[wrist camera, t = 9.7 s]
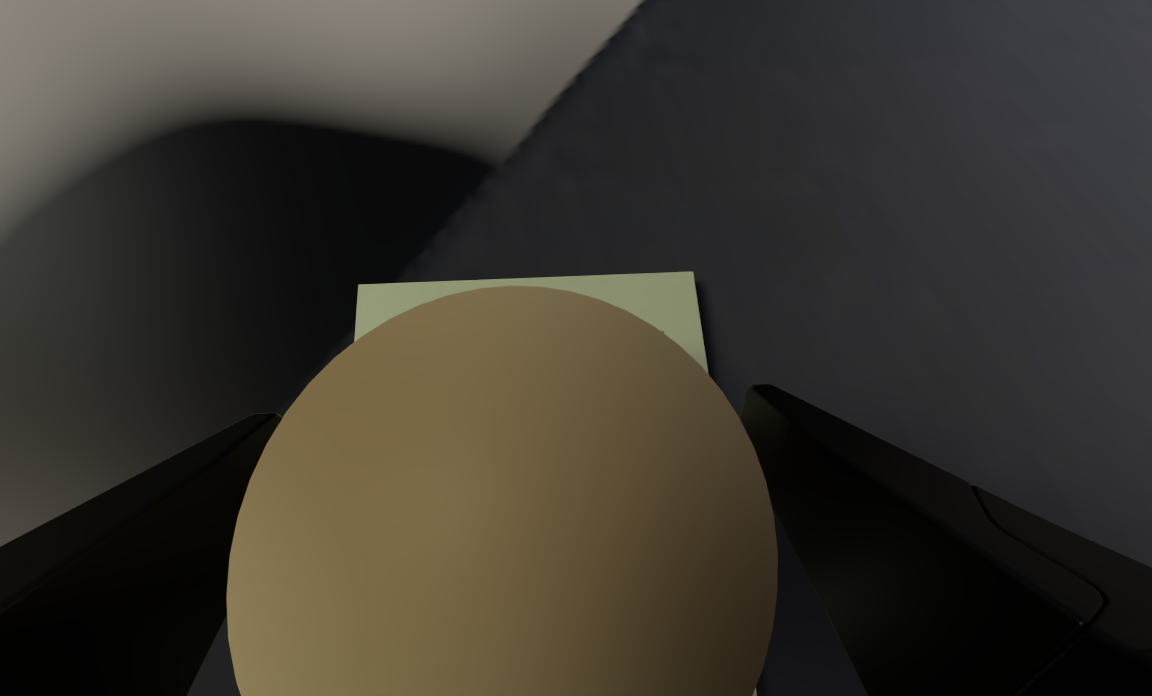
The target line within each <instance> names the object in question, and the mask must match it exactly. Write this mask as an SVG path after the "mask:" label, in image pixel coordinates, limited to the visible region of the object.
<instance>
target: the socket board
mask: <svg viewBox="0 0 1152 696" xmlns="http://www.w3.org/2000/svg"><path fill="white" fill-rule="evenodd" d="M501 286H535V287H546V288H553V289H559V290H566V291H572V292H575V293H579V294H582V295H586V296H589V297H593V298H596V299H600V300H602V301H605V302H607V303H609V304H612V305H614V306H617V307H619V308H621V309H624V310H626V311H628V312H630V313H632V314H633V315H635V316H637V317H639V318H640V319H642V320H644V321H646V322H647V323H649V324H651V325H653V326H654V327H656V328H657V329H658V330H660V331H661V332H662V333H664V334H665V335H666V336H668V337H669V338H671V339H672V340H673V341H675V342H676V343H677V344H679V345H680V346H681V347H682V348H683V349H684V350H685V351H686V352H687V353H688V354H689V355H690V356H691V357H692V358H693V359H694V360H695V361H696V362H698V363H699V364H700V365H701V366H702V367H703V369H704V370H705V371H706V372H707V374H708V368H707V361H706V355H705V348H704V341H703V335H702V328H701V322H700V315H699V308H698V302H697V295H696V288H695V282H694V275H693V272H671V273H646V274H620V275H594V276H569V277H543V278H517V279H492V280H466V281H440V282H414V283H389V284H363V285H359V286H358V299H357V313H356V327H355V341H356V340H358V339H359V338H360V337H361V336H363V335H365V334H366V333H368V332H369V331H371V330H373V329H374V328H376V327H378V326H379V325H381V324H382V323H384V322H386V321H387V320H389V319H391V318H393V317H395V316H397V315H399V314H401V313H403V312H405V311H407V310H410V309H412V308H414V307H416V306H418V305H421V304H423V303H426V302H429V301H432V300H435V299H438V298H441V297H444V296H447V295H451V294H455V293H460V292H465V291H470V290H475V289H479V288H490V287H501ZM753 696H757V693H756V688H755V690H754V693H753Z"/></svg>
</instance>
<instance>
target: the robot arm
mask: <svg viewBox="0 0 1152 696" xmlns="http://www.w3.org/2000/svg"><path fill="white" fill-rule="evenodd" d="M281 420H282V417H281V416H280V415H279V414H277V413H262V414H253V415H250V416H248V417H247V418H244V419H242V420H240V421H239V422H237V423H235V424H233V425H231V426H229V427H227V428H225V429H223V430H222V431H220V432H218V433H216V434H214V435H212V436H210V437H208V438H206V439H204V440H202V441H201V442H199V443H197V444H195V445H193V446H191V447H189V448H187V449H185V450H183V451H182V452H180V453H178V454H176V455H174V456H172V457H170V458H168V459H167V460H165V461H162V462H161V463H159V464H157V465H155V466H153V467H151V468H149V469H147V470H145V471H143V472H142V473H140V474H138V475H136V476H134V477H132V478H130V479H128V480H126V481H125V482H123V483H121V484H119V485H117V486H115V487H113V488H111V489H109V490H107V491H106V492H103V493H102V494H100V495H98V496H96V497H94V498H92V499H90V500H88V501H86V502H84V503H83V504H81V505H79V506H77V507H75V508H73V509H71V510H69V511H67V512H65V513H63V514H62V515H60V516H58V517H56V518H54V519H52V520H50V521H48V522H46V523H44V524H43V525H41V526H39V527H37V528H35V529H33V530H31V531H29V532H27V533H25V534H23V535H22V536H20V537H18V538H16V539H14V540H12V541H10V542H8V543H6V544H4V545H3V546H1V547H0V696H188V694H189V692H190V690H191V688H192V686H193V684H194V682H195V680H196V678H197V675H198V673H199V671H200V669H201V667H202V665H203V663H204V661H205V659H206V657H207V655H208V653H209V651H210V649H211V647H212V645H213V643H214V641H215V639H216V637H217V635H218V633H219V631H220V629H221V627H222V625H223V623H224V621H225V619H226V617H227V599H226V597H227V584H228V571H229V558H230V552H231V547H232V542H233V537H234V532H235V527H236V523H237V518H238V514H239V511H240V508H241V505H242V502H243V499H244V496H245V493H246V490H247V487H248V484H249V481H250V478H251V476H252V474H253V472H254V470H255V468H256V466H257V463H258V461H259V459H260V457H261V455H262V453H263V451H264V449H265V446H266V444H267V443H268V441H269V439H270V438H271V436H272V435H273V433H274V431H275V430H276V428H277V426H278V425H279V423H280V422H281ZM740 420H741V422H742V424H743V426H744V428H745V430H746V432H747V434H748V437H749V439H750V441H751V443H752V445H753V447H754V449H755V452H756V454H757V457H758V460H759V463H760V466H761V469H762V471H763V474H764V477H765V480H766V484H767V488H768V492H769V497H770V501H771V506H772V508H773V510H774V512H775V514H776V516H777V518H778V520H779V522H780V523H781V525H782V527H783V529H784V531H785V533H786V535H787V537H788V539H789V541H790V543H791V545H792V547H793V549H794V551H795V553H796V555H797V557H798V559H799V561H800V563H801V565H802V567H803V569H804V571H805V573H806V575H807V577H808V579H809V581H810V582H811V584H812V586H813V588H814V590H815V592H816V594H817V596H818V598H819V600H820V602H821V604H822V606H823V608H824V610H825V612H826V614H827V616H828V618H829V620H830V622H831V624H832V626H833V628H834V630H835V632H836V634H837V636H838V638H839V640H840V641H841V643H842V645H843V647H844V649H845V651H846V653H847V655H848V657H849V659H850V661H851V663H852V665H853V667H854V669H855V671H856V673H857V675H858V677H859V679H860V681H861V683H862V685H863V687H864V689H865V691H866V693H867V695H868V696H1152V568H1151V567H1149V566H1146V565H1144V564H1142V563H1140V562H1138V561H1135V560H1133V559H1131V558H1129V557H1126V556H1124V555H1122V554H1120V553H1117V552H1115V551H1113V550H1111V549H1108V548H1106V547H1104V546H1102V545H1099V544H1097V543H1095V542H1093V541H1091V540H1088V539H1086V538H1084V537H1082V536H1080V535H1077V534H1075V533H1073V532H1071V531H1069V530H1066V529H1064V528H1062V527H1060V526H1058V525H1055V524H1053V523H1051V522H1049V521H1047V520H1045V519H1042V518H1040V517H1038V516H1036V515H1034V514H1032V513H1030V512H1028V511H1026V510H1024V509H1022V508H1020V507H1018V506H1015V505H1013V504H1011V503H1009V502H1007V501H1005V500H1003V499H1001V498H999V497H997V496H995V495H993V494H991V493H989V492H987V491H985V490H983V489H981V488H979V487H977V486H974V485H973V486H970V484H969V483H968V482H967V481H965V480H963V479H961V478H958V477H956V476H954V475H952V474H950V473H948V472H946V471H944V470H942V469H940V468H938V467H936V466H934V465H932V464H930V463H928V462H926V461H924V460H922V459H920V458H918V457H916V456H914V455H912V454H910V453H908V452H906V451H904V450H902V449H900V448H898V447H896V446H894V445H892V444H890V443H888V442H886V441H884V440H882V439H880V438H878V437H876V436H874V435H872V434H870V433H868V432H866V431H864V430H862V429H860V428H858V427H856V426H853V425H851V424H849V423H847V422H845V421H843V420H841V419H839V418H837V417H835V416H833V415H831V414H829V413H827V412H825V411H823V410H821V409H819V408H817V407H815V406H813V405H811V404H809V403H807V402H805V401H803V400H801V399H799V398H797V397H795V396H793V395H791V394H789V393H787V392H785V391H783V390H781V389H779V388H777V387H775V386H773V385H769V384H764V385H751V386H750V387H749V388H748V389H747V391H746V395H745V399H744V403H743V407H742V411H741V416H740Z"/></svg>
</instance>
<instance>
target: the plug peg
mask: <svg viewBox="0 0 1152 696" xmlns="http://www.w3.org/2000/svg"><path fill="white" fill-rule="evenodd" d="M777 591H778V549H777V540H776V531H775V522H774V514H773V510H772V506H771V501H770V497H769V492H768V488H767V484H766V480H765V477H764V474H763V471H762V469H761V466H760V463H759V460H758V457H757V454H756V452H755V449H754V447H753V445H752V443H751V441H750V439H749V437H748V434H747V432H746V430H745V428H744V426H743V424H742V422H741V420H740V418H739V417H738V415H737V414H736V412H735V410H734V409H733V407H732V406H731V404H730V403H729V401H728V400H727V398H726V397H725V395H724V393H723V392H722V390H721V389H720V388H719V387H718V386H717V384H716V383H715V382H714V381H713V380H712V378H711V377H710V376H709V375H708V374H707V372H706V371H705V370H704V369H703V367H702V366H701V365H700V364H699V363H698V362H696V361H695V360H694V359H693V358H692V357H691V356H690V355H689V354H688V353H687V352H686V351H685V350H684V349H683V348H682V347H681V346H680V345H679V344H677V343H676V342H675V341H673V340H672V339H671V338H669V337H668V336H666V335H665V334H664V333H662V332H661V331H660V330H658V329H657V328H656V327H654V326H653V325H651V324H649V323H647V322H646V321H644V320H642V319H640V318H639V317H637V316H635V315H633V314H632V313H630V312H628V311H626V310H624V309H621V308H619V307H617V306H614V305H612V304H609V303H607V302H605V301H602V300H600V299H596V298H593V297H589V296H586V295H582V294H579V293H575V292H572V291H566V290H559V289H553V288H546V287H535V286H501V287H490V288H479V289H475V290H470V291H465V292H460V293H455V294H451V295H447V296H444V297H441V298H438V299H435V300H432V301H429V302H426V303H423V304H421V305H418V306H416V307H414V308H412V309H410V310H407V311H405V312H403V313H401V314H399V315H397V316H395V317H393V318H391V319H389V320H387V321H386V322H384V323H382V324H381V325H379V326H378V327H376V328H374V329H373V330H371V331H369V332H368V333H366V334H365V335H363V336H361V337H360V338H359V339H358V340H356V341H355V342H354V343H353V344H351V345H350V346H349V347H348V348H346V349H345V350H344V351H343V352H341V353H340V354H339V355H338V356H336V357H335V358H334V359H333V360H332V361H331V362H330V363H329V364H328V365H327V366H326V367H325V368H324V369H323V370H322V371H321V372H320V373H319V374H318V375H317V376H316V377H315V378H314V379H313V380H312V381H311V382H310V383H309V384H308V385H307V387H306V388H305V389H304V390H303V392H302V393H301V394H300V396H299V397H298V398H297V399H296V401H295V402H294V403H293V404H292V406H291V407H290V408H289V409H288V411H287V412H286V414H285V415H284V417H283V418H282V420H281V422H280V423H279V425H278V426H277V428H276V430H275V431H274V433H273V435H272V436H271V438H270V439H269V441H268V443H267V444H266V446H265V449H264V451H263V453H262V455H261V457H260V459H259V461H258V463H257V466H256V468H255V470H254V472H253V474H252V476H251V478H250V481H249V484H248V487H247V490H246V493H245V496H244V499H243V502H242V505H241V508H240V511H239V514H238V518H237V523H236V527H235V532H234V537H233V542H232V547H231V552H230V558H229V571H228V584H227V597H226V599H227V618H228V638H229V645H230V650H231V655H232V661H233V666H234V671H235V677H236V682H237V685H238V688H239V691H240V694H241V696H753V693H754V690H755V688H756V685H757V683H758V680H759V677H760V675H761V672H762V669H763V666H764V662H765V658H766V654H767V650H768V646H769V642H770V638H771V634H772V630H773V623H774V615H775V607H776V599H777Z"/></svg>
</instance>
